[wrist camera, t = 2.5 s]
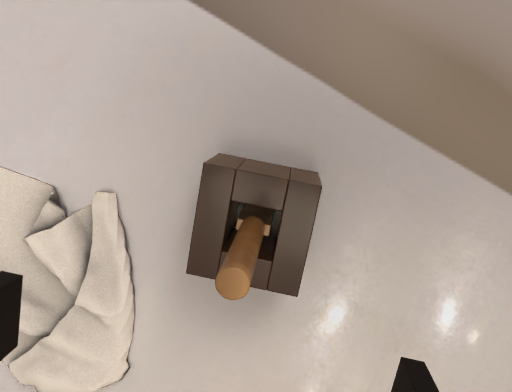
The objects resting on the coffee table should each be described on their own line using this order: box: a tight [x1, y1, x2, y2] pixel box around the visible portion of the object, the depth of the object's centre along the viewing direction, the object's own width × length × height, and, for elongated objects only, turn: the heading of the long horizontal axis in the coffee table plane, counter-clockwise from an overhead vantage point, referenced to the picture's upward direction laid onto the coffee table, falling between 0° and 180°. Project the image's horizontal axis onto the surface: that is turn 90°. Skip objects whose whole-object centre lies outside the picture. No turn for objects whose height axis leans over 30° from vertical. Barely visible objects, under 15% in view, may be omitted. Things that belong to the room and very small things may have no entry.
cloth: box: [0, 167, 135, 392], centre depth 38 cm, size 20×22×2 cm
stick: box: [215, 204, 274, 300], centre depth 28 cm, size 2×2×15 cm
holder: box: [186, 153, 322, 297], centre depth 33 cm, size 8×8×6 cm
